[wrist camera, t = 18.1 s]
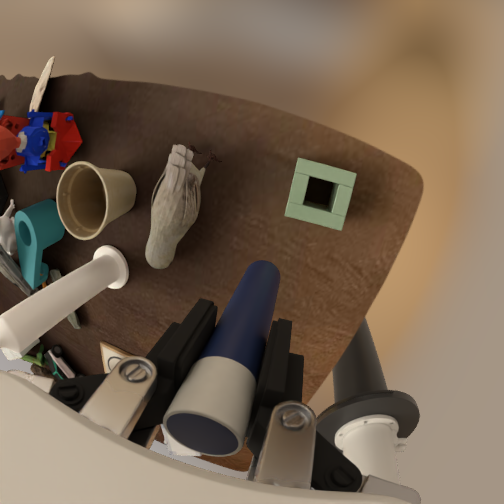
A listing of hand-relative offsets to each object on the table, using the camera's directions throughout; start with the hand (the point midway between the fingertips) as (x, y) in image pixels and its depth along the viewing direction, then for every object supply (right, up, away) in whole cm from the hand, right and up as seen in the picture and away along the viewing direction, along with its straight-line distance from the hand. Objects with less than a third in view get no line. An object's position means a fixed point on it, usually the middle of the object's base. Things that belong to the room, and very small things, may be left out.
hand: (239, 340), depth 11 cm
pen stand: (+8, +11, +20) cm, 24 cm away
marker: (+1, +2, +8) cm, 8 cm away
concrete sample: (-51, -31, +38) cm, 70 cm away
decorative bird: (-8, +10, +24) cm, 27 cm away
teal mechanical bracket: (-34, +3, +27) cm, 44 cm away
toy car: (-44, -24, +41) cm, 64 cm away
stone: (-32, -5, +31) cm, 45 cm away
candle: (-21, +1, +29) cm, 36 cm away
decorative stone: (-36, +33, +21) cm, 53 cm away
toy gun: (-56, +5, +26) cm, 62 cm away
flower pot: (-18, +12, +25) cm, 33 cm away
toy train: (-32, +22, +24) cm, 46 cm away
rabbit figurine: (-49, +9, +31) cm, 59 cm away
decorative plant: (-75, -27, +45) cm, 92 cm away
